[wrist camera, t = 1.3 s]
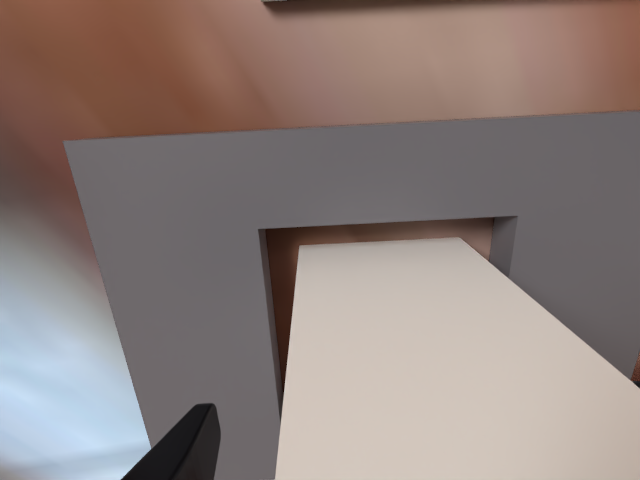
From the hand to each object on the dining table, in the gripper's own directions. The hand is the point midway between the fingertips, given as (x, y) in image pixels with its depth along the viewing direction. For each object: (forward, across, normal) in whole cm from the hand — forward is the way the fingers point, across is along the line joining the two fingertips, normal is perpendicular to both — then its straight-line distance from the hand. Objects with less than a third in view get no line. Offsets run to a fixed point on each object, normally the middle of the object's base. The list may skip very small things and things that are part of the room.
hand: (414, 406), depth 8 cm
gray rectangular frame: (+4, 0, 0) cm, 4 cm away
